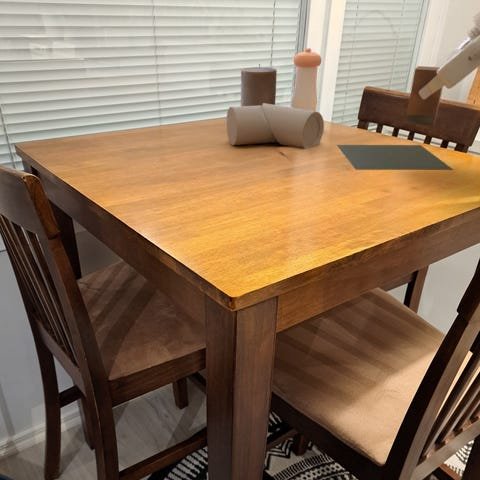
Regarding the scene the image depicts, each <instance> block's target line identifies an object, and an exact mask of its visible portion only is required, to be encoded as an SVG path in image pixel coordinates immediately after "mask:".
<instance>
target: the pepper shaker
mask: <svg viewBox="0 0 480 480" xmlns="http://www.w3.org/2000/svg"><path fill="white" fill-rule="evenodd" d="M293 64H294V66H296V67H295V80H294V81H295V82H294V87H293V88H294V89H293V93H292V98H291V108H296V109H302V110H308V111H314V112H317V106H318V105H317V104H318V91H317V82H318V81H317V80H318V69H319V68H318V67H320V66H321V64H322V56H321V54H319V53H317V52H315V51H312V49H311V48H309V47H306V48H305V49H304V51H300V52H298V53H297V54H295V56H294V59H293Z"/></svg>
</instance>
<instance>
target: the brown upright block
mask: <svg viewBox="0 0 480 480" xmlns="http://www.w3.org/2000/svg"><path fill="white" fill-rule="evenodd" d="M440 67H441V66H439V67H438V66H422V65H417V67H416V68H414V73H413V78H412V83H411V90H410V95H409V101H408V106H407V112H406V116H405V120H404V121H405V124H410V125H419V126H432V127H434V126H435V123H436V121H437V115H438V111H439V107H440V102H441V97H442V92H443V88H444V86H443V87H442V88H440V89H439V90H437V91H436V92H434V93H433V94H431V95H430V96H429V97H428V98H426V99H422V98H421V96H420V95H419V91H420V90H421V89H422V88H423V87H424V86H426V85H427V84H428V83H429V82H430V81H431V80H432V79H433V78H434V77H435V76H437V71H438V69H439V68H440Z"/></svg>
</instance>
